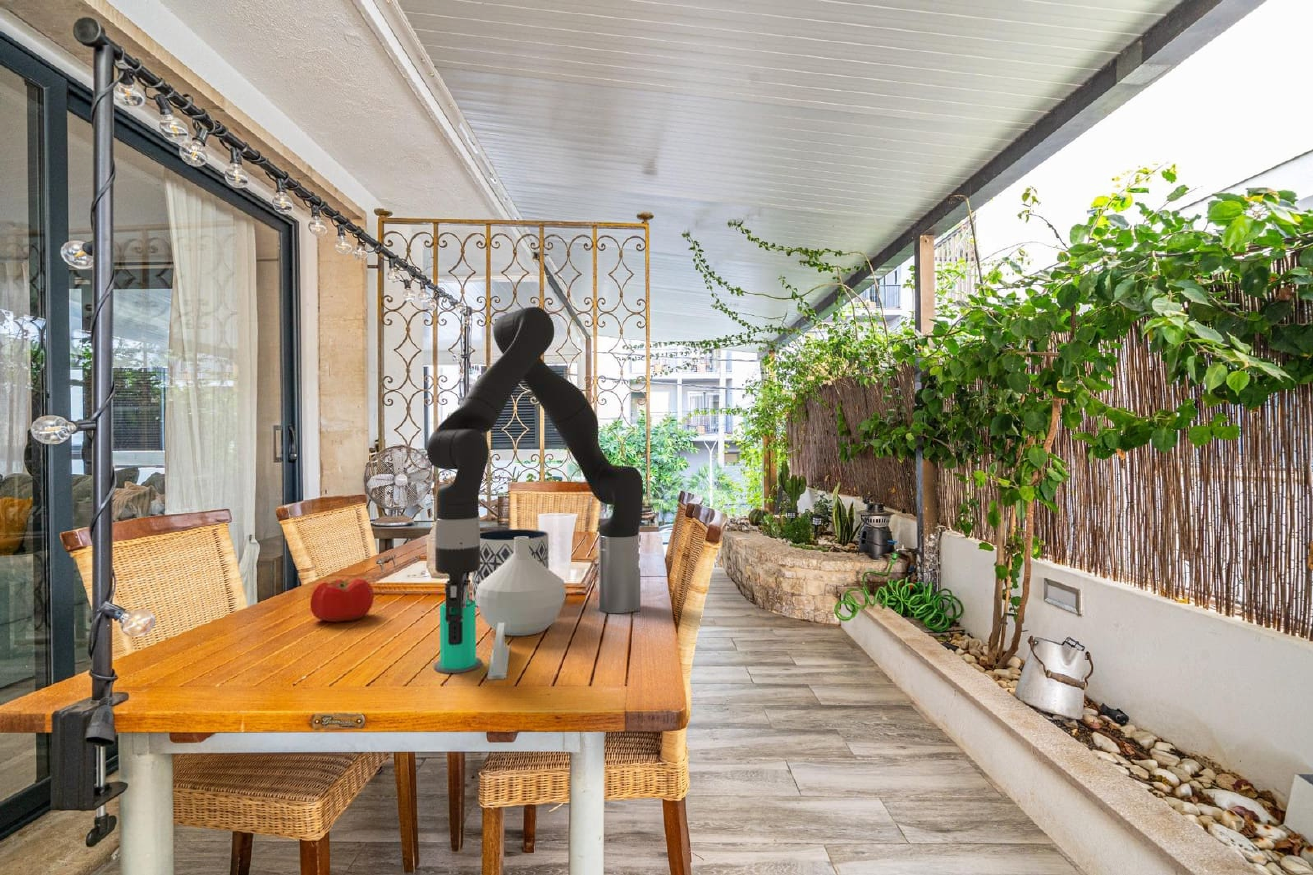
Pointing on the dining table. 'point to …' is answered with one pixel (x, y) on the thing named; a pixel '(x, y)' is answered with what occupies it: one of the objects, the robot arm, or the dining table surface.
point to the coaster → (440, 669)
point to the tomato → (342, 600)
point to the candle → (466, 650)
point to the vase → (521, 594)
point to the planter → (506, 551)
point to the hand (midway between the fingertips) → (458, 637)
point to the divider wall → (499, 655)
